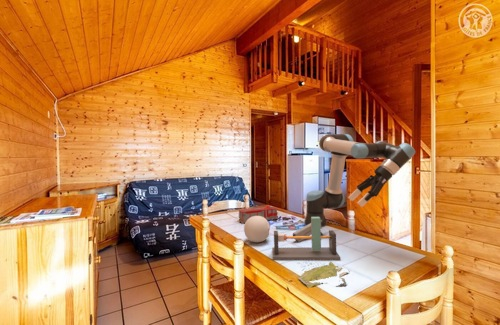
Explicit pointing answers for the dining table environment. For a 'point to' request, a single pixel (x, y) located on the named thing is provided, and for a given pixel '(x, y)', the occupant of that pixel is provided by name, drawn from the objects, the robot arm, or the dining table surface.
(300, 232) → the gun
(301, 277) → the landscape model
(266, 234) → the toy
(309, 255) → the grey slider rail stand
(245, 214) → the toy
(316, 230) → the sleeve
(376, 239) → the dining table surface
